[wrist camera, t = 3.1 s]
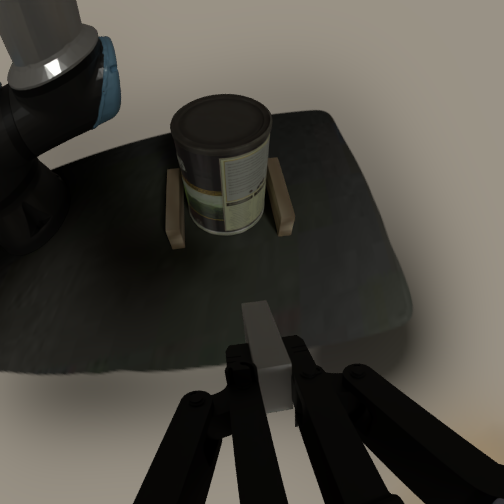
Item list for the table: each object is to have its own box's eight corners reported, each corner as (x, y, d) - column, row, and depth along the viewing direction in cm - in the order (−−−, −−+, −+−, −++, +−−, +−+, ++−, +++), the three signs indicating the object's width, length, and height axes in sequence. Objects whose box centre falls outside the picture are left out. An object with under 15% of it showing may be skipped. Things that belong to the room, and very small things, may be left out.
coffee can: (185, 237, 37) (161, 153, 25) (192, 178, 43) (178, 96, 30) (267, 236, 38) (276, 149, 25) (263, 176, 43) (268, 93, 31)
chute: (172, 249, 36) (165, 231, 33) (172, 189, 41) (167, 169, 38) (290, 235, 38) (295, 215, 34) (275, 177, 43) (277, 157, 39)
